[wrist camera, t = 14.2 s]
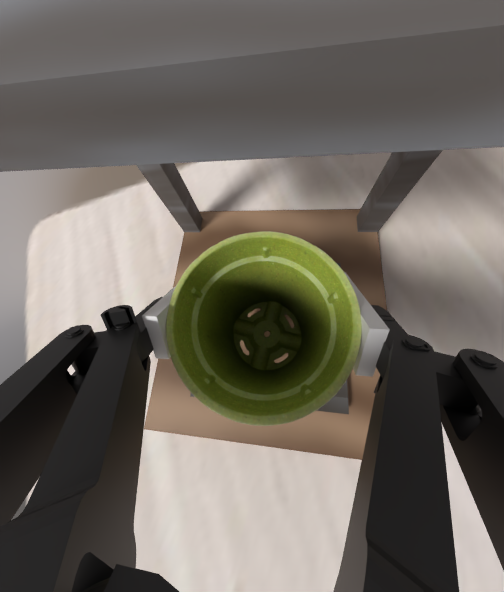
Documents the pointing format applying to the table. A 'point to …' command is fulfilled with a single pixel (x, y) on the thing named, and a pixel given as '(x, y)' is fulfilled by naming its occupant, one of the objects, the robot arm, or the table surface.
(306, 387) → the plant pot
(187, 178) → the table surface
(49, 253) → the table surface
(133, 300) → the table surface
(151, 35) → the roofed stand
